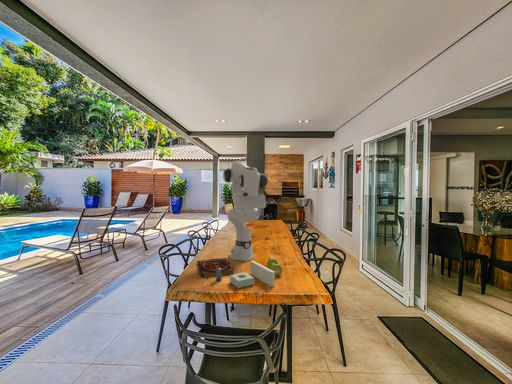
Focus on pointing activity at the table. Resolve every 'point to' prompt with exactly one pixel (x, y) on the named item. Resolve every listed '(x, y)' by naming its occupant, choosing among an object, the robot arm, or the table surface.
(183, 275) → the table surface
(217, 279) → the dowel
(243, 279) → the sliding block
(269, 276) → the wall
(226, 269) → the book
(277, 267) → the dumbbell
